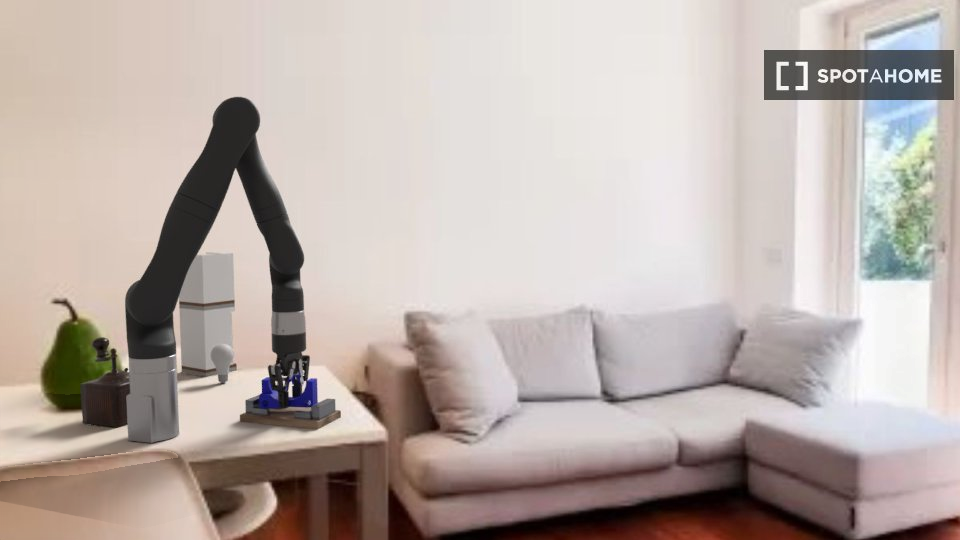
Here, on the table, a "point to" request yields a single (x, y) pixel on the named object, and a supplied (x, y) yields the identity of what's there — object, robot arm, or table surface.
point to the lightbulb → (222, 360)
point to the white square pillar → (206, 312)
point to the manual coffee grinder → (106, 392)
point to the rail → (291, 414)
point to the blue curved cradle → (304, 400)
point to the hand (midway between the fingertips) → (290, 404)
